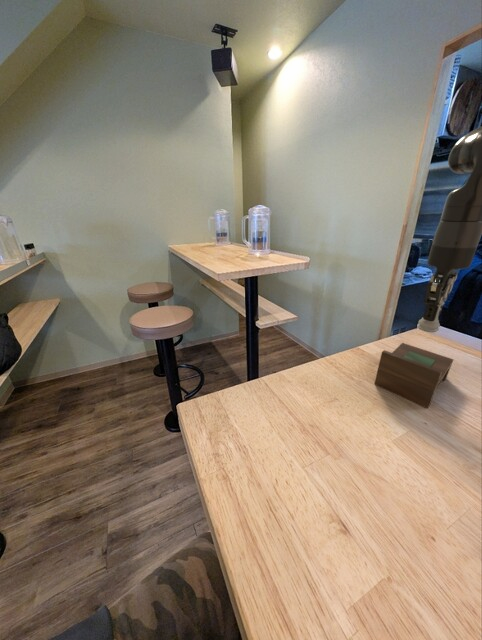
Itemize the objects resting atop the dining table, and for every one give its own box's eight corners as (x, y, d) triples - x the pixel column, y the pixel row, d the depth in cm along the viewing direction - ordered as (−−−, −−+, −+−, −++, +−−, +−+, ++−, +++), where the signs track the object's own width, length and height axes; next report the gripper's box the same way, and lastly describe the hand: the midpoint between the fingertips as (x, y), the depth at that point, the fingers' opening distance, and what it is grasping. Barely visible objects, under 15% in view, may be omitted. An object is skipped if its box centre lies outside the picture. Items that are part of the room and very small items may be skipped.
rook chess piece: (425, 323, 64) (434, 294, 61) (443, 331, 60) (454, 299, 57) (412, 326, 63) (420, 296, 59) (429, 334, 59) (439, 302, 56)
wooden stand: (397, 359, 75) (405, 330, 71) (446, 378, 67) (458, 346, 63) (374, 384, 66) (381, 351, 62) (427, 408, 58) (440, 373, 54)
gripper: (469, 249, 46) (441, 332, 54) (484, 240, 54) (457, 313, 62) (422, 246, 51) (402, 321, 59) (442, 238, 60) (422, 305, 67)
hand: (431, 317), depth 60 cm, fingers closed on rook chess piece, 3 cm apart
